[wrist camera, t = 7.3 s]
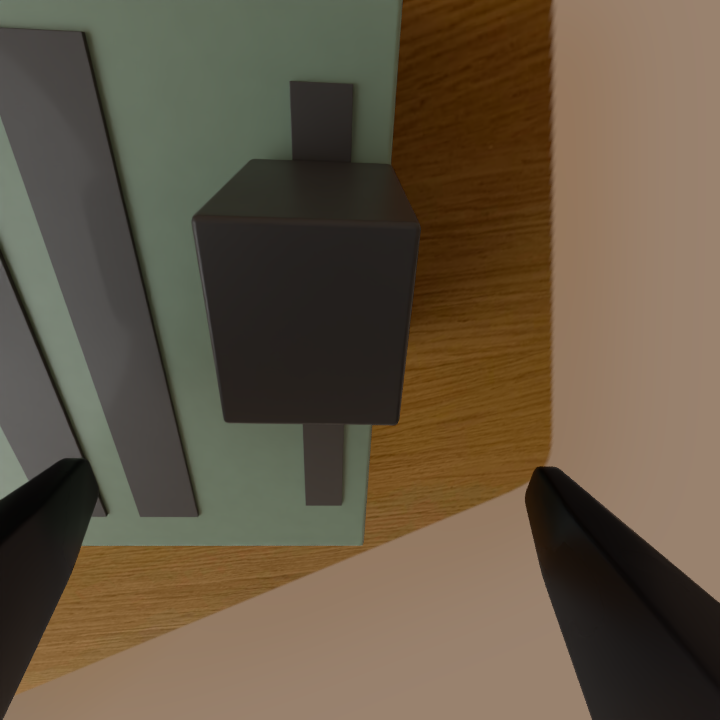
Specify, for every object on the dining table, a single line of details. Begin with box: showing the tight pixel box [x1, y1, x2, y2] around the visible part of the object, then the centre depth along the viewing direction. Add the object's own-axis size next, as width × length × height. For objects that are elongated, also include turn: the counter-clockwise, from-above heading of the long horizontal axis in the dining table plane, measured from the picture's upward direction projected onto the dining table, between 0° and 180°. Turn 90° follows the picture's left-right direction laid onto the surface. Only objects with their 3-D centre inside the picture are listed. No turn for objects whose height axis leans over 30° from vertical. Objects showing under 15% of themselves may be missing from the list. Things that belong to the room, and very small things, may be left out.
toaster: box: [0, 0, 403, 546], centre depth 14 cm, size 10×14×11 cm
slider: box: [191, 159, 421, 425], centre depth 7 cm, size 2×3×4 cm
